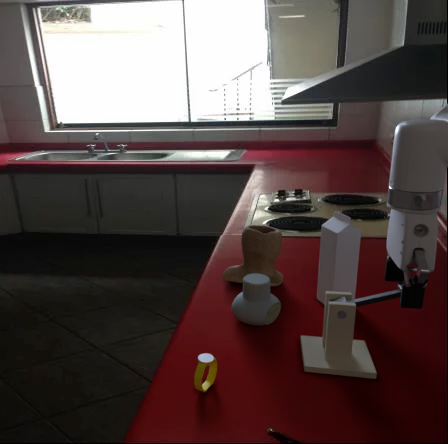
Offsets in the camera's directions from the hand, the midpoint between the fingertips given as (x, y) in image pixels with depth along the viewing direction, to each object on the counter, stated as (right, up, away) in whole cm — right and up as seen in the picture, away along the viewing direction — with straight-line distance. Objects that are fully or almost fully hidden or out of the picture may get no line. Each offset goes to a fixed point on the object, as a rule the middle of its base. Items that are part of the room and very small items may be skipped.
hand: (401, 293), depth 72 cm
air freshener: (-20, -10, +21) cm, 31 cm away
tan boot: (-17, -3, +40) cm, 44 cm away
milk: (-1, -7, +26) cm, 27 cm away
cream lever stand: (-9, -13, +7) cm, 17 cm away
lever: (-4, -2, +2) cm, 5 cm away
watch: (-34, -17, +1) cm, 38 cm away
